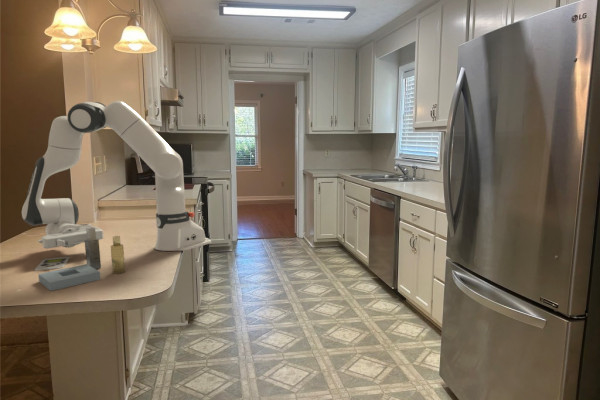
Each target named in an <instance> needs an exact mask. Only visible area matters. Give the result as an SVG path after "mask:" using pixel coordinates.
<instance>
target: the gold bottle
mask: <svg viewBox="0 0 600 400" xmlns="http://www.w3.org/2000/svg"><path fill="white" fill-rule="evenodd" d="M124 249H125V248H124V244H122V243H121V236H120V235H113V236H112V245H110V254H111V269H112V274H114V275H120V274H123V273H125V272H126V265H125V264H126V263H125V252H124V251H125V250H124Z"/></svg>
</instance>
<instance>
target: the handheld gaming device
mask: <svg viewBox="0 0 600 400" xmlns="http://www.w3.org/2000/svg"><path fill="white" fill-rule="evenodd" d="M70 258H71V256H63V257H54V258H53V257H52V258H43V260H41V261H40V263H39V264H38V265H37V266H36V267H35V268H34V272H37V271H49V270H60V269H64V268H65V266H66V265H67V263H68V261H69V260H70Z"/></svg>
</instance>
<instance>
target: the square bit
mask: <svg viewBox="0 0 600 400" xmlns="http://www.w3.org/2000/svg"><path fill="white" fill-rule="evenodd" d="M94 227H95V226H92V227H90V228H86V235H87V239H86V240H85V242H84V249H85V250H84V251H85V260H86V264H87V265H89V266H91V267H92V268H94V269H96V270H98V269H102V265H101V262H102V261H101V253H100V252H101V251H100V240H99V239H96V232H95V228H94Z"/></svg>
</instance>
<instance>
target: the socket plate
mask: <svg viewBox="0 0 600 400" xmlns="http://www.w3.org/2000/svg"><path fill="white" fill-rule="evenodd" d="M99 280H100V281H101V271H99V270H98V269H94V268H92V267H91V266H89V265H87V263H86V264H85V263H84V264H80V265H75V266H70V267H64V268H59V269H54V270H51V271H46V272H41V273H38V282H39V283H40V284H42V285H43V286H44V287H45V288H46V289H48V291H50V292H51V291H52V292H53V291H56V290H62V289H65V288H70V287H73V286H77V285H81V284H85V283H90V282H95V281H99Z"/></svg>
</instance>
